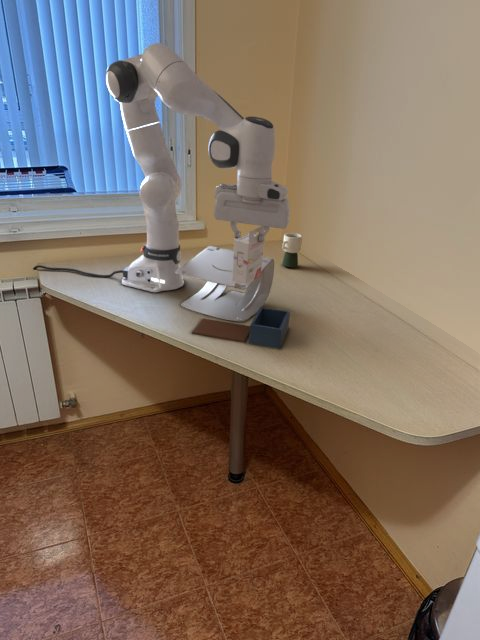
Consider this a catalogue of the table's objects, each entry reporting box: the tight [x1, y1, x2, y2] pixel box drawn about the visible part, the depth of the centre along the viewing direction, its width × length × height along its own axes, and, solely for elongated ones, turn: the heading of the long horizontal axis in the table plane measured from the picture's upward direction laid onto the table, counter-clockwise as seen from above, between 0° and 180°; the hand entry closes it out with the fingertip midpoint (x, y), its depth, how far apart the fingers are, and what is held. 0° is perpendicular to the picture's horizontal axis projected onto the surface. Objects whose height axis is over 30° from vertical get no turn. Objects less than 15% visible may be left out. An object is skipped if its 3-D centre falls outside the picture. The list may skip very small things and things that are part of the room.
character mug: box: [281, 232, 303, 268], centre depth 195 cm, size 11×7×13 cm, turn 131°
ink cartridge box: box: [232, 226, 265, 284], centre depth 133 cm, size 9×5×15 cm, turn 149°
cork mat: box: [191, 317, 250, 343], centre depth 146 cm, size 16×10×1 cm, turn 74°
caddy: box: [248, 306, 291, 350], centre depth 143 cm, size 9×13×6 cm
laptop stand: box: [175, 245, 275, 323], centre depth 160 cm, size 26×24×16 cm
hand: (249, 240), depth 132 cm, fingers closed on ink cartridge box, 5 cm apart
